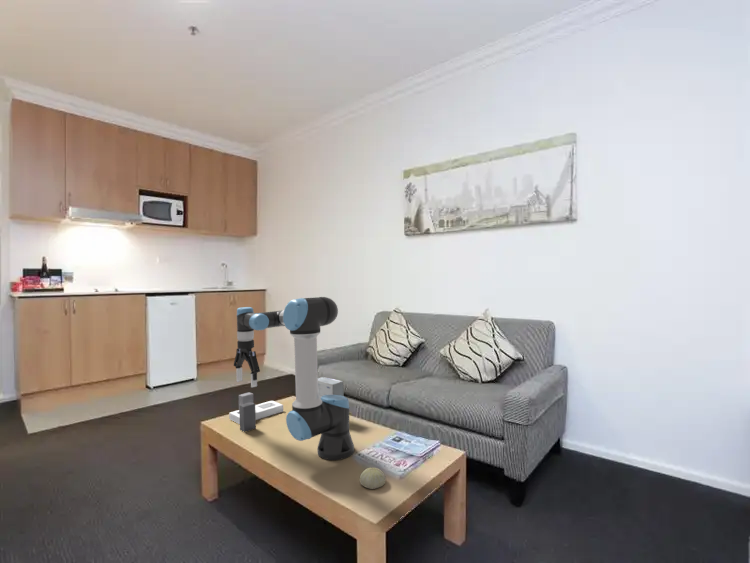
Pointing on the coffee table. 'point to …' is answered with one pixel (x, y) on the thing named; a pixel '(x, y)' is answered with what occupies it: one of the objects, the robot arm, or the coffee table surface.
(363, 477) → the sea urchin shell
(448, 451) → the coffee table surface
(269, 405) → the socket strip
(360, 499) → the coffee table surface
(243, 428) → the grey rectangular block
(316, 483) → the coffee table surface
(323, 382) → the hard drive box
